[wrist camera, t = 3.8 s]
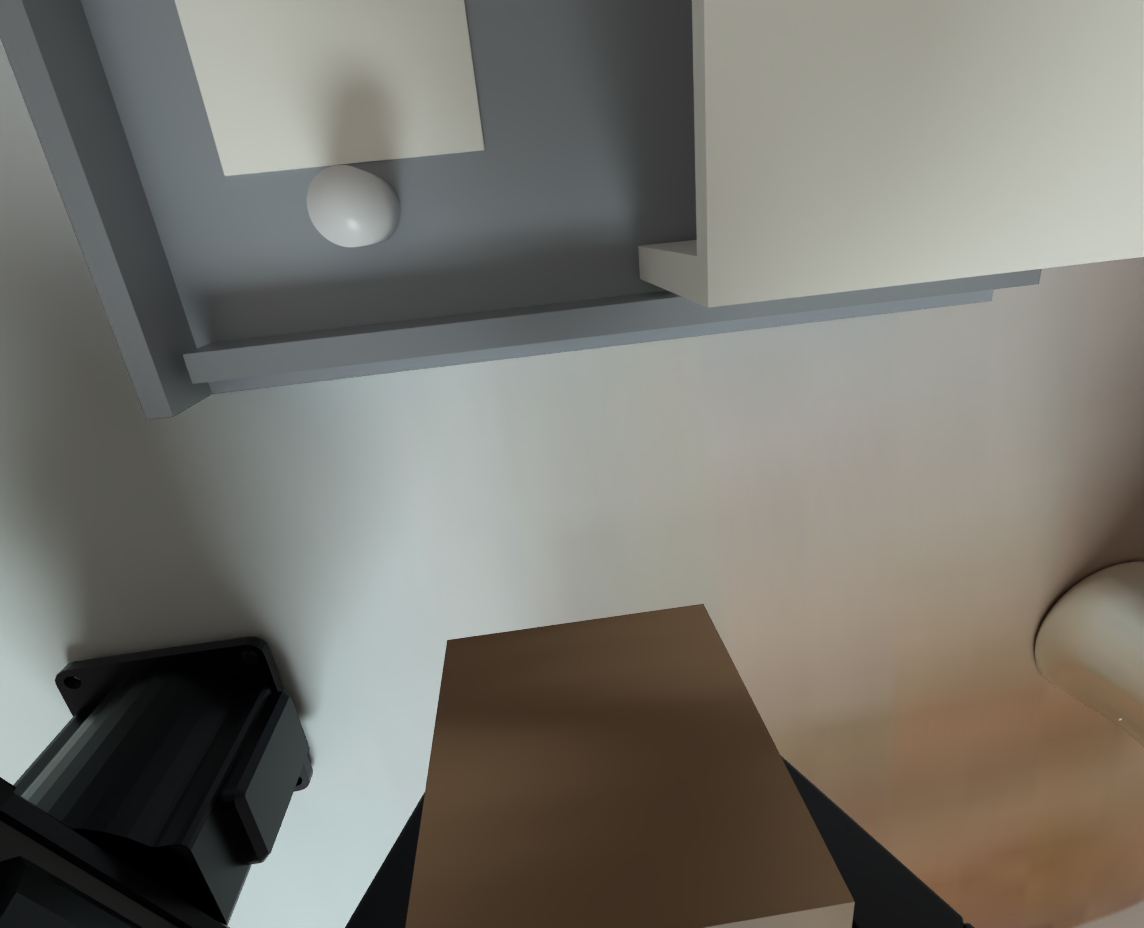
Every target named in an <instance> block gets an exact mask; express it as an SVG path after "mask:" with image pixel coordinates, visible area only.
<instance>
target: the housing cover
mask: <svg viewBox="0 0 1144 928" xmlns="http://www.w3.org/2000/svg"><path fill="white" fill-rule="evenodd" d="M692 32H693V82H694V133H695V183H696V234H697V240H688V241H679V242H670V243H661V244H652V245H642V246H638V251H639V270H640V279H641V280H644V281H646V282H649V283H651V284H653V285H656V286H658V287H660V288H663V289H665V290H667V291H670V292H672V293H675V294H677V295H679V296H682V297H684V298H686V299H689V300H691V301H694V302H696V303H698V304H701V305H703V306H705V307H708V308H710V307H718V306H727V305H735V304H744V303H752V302H761V301H770V300H778V299H787V298H795V297H804V296H812V295H821V294H829V293H838V292H847V291H855V290H864V289H872V288H881V287H889V286H898V285H906V284H915V283H924V282H932V281H941V280H949V279H958V278H966V277H975V276H984V275H992V274H1001V273H1009V272H1018V271H1026V270H1035V269H1043V268H1052V267H1061V266H1069V265H1078V264H1086V263H1095V262H1103V261H1112V260H1121V259H1129V258H1138V257H1144V0H692Z"/></svg>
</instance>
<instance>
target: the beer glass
mask: <svg viewBox="0 0 1144 928" xmlns="http://www.w3.org/2000/svg"><path fill="white" fill-rule="evenodd" d="M1035 660H1036V664H1037V667H1038V669H1039V671H1040V673H1041V674H1042V675H1043V676H1044V678H1045V679H1046V680H1047V681H1048V682H1049V683H1050V684H1052V685H1053V686H1054V687H1056V688H1057V689H1059V690H1060V691H1062V692H1064V693H1065V694H1067V695H1068V696H1070V697H1072V698H1074V699H1075V700H1077V701H1079V702H1080V703H1082V704H1084V705H1085V706H1087V707H1089V708H1091V709H1092V710H1094V711H1095V712H1097V713H1099V714H1100V715H1102V716H1104V717H1105V718H1107V719H1108V720H1110V721H1111V722H1113V723H1114V724H1116V725H1117V726H1119V727H1120V728H1121V729H1122V730H1124V731H1125V732H1126V733H1128V734H1129V735H1130V736H1131V737H1133V738H1134V739H1135V740H1136V741H1138V742H1139V743H1140V744H1141V745H1142V746H1143V747H1144V561H1136V562H1127V563H1122V564H1117V565H1114V566H1111V567H1108V568H1105V569H1102V570H1100V571H1098V572H1096V573H1094V574H1092V575H1090V576H1088V577H1086V578H1085V579H1083V580H1082V581H1080V582H1079V583H1077V584H1076V585H1074V586H1073V587H1072V588H1071V589H1069V590H1068V591H1067V592H1066V593H1065V594H1064V595H1063V596H1062V597H1061V598H1060V599H1059V600H1058V601H1057V602H1056V603H1055V604H1054V606H1053V607H1052V608H1051V609H1050V611H1049V612H1048V614H1047V615H1046V617H1045V619H1044V620H1043V622H1042V624H1041V626H1040V629H1039V631H1038V634H1037V638H1036V643H1035Z"/></svg>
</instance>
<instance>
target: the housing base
mask: <svg viewBox="0 0 1144 928" xmlns="http://www.w3.org/2000/svg"><path fill="white" fill-rule="evenodd" d="M0 38H1V41H2V43H3V46H4V49H5V51H6V54H7V57H8V59H9V62H10V64H11V67H12V70H13V72H14V75H15V77H16V80H17V83H18V85H19V88H20V91H21V93H22V96H23V98H24V101H25V104H26V106H27V109H28V111H29V114H30V117H31V119H32V122H33V125H34V127H35V130H36V132H37V135H38V138H39V140H40V143H41V145H42V148H43V151H44V153H45V156H46V159H47V161H48V164H49V166H50V169H51V172H52V174H53V177H54V179H55V182H56V185H57V187H58V190H59V193H60V195H61V198H62V200H63V203H64V206H65V208H66V211H67V213H68V216H69V219H70V221H71V224H72V227H73V229H74V232H75V234H76V237H77V240H78V242H79V245H80V247H81V250H82V253H83V255H84V258H85V261H86V263H87V266H88V268H89V271H90V274H91V276H92V279H93V281H94V284H95V287H96V289H97V292H98V295H99V297H100V300H101V302H102V305H103V308H104V310H105V313H106V315H107V318H108V321H109V323H110V326H111V329H112V331H113V334H114V336H115V339H116V342H117V344H118V347H119V349H120V352H121V355H122V357H123V360H124V363H125V365H126V368H127V370H128V373H129V376H130V378H131V381H132V383H133V386H134V389H135V391H136V394H137V397H138V399H139V402H140V404H141V407H142V410H143V412H144V415H145V417H146V420H149V419H158V418H166V417H173V416H175V415H177V414H179V413H180V412H182V411H184V410H185V409H187V408H189V407H191V406H192V405H194V404H196V403H197V402H199V401H201V400H203V399H204V398H206V397H208V396H209V395H211V394H216V393H225V392H233V391H241V390H250V389H258V388H266V387H275V386H283V385H292V384H300V383H308V382H317V381H325V380H334V379H342V378H350V377H359V376H367V375H375V374H384V373H392V372H401V371H409V370H417V369H426V368H434V367H442V366H451V365H459V364H468V363H476V362H484V361H493V360H501V359H510V358H518V357H526V356H535V355H543V354H551V353H560V352H568V351H577V350H585V349H593V348H602V347H610V346H618V345H627V344H635V343H644V342H652V341H660V340H669V339H677V338H685V337H694V336H702V335H711V334H719V333H727V332H736V331H744V330H753V329H761V328H769V327H778V326H786V325H794V324H803V323H811V322H820V321H828V320H836V319H845V318H853V317H861V316H870V315H878V314H887V313H895V312H903V311H912V310H920V309H928V308H937V307H945V306H954V305H962V304H970V303H979V302H987V301H992V295H993V289H1000V288H1008V287H1017V286H1025V285H1034V284H1039V281H1040V276H1041V270H1042V269H1035V270H1026V271H1018V272H1009V273H1001V274H992V275H984V276H975V277H966V278H958V279H949V280H941V281H932V282H924V283H915V284H906V285H898V286H889V287H881V288H872V289H864V290H855V291H847V292H838V293H829V294H821V295H812V296H804V297H795V298H787V299H778V300H770V301H761V302H752V303H744V304H735V305H727V306H718V307H710V308H708V307H705V306H703V305H701V304H698V303H696V302H694V301H691V300H689V299H686V298H684V297H682V296H679V295H677V294H675V293H672V292H670V291H667V290H665V289H663V288H660V287H658V286H656V285H653V284H651V283H649V282H646V281H644V280H641V279H640V270H639V251H638V246H642V245H652V244H661V243H670V242H679V241H688V240H697V234H696V183H695V133H694V82H693V32H692V0H0Z"/></svg>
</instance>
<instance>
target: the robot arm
mask: <svg viewBox="0 0 1144 928" xmlns="http://www.w3.org/2000/svg"><path fill="white" fill-rule="evenodd" d="M246 651H252V652H254V653H255V654H256V656H254V655H250V654H248V653H247V652H246ZM75 677H76V678H78V679H79V680H78V679H76V678H75ZM55 682H56V685H57V687H58V689H59V691H60V693H61V695H62V696H63V698H64V700H65V702H66V704H67V706H68V708H69V710H70V711H71V713H72V715H73V718H72V719H71V720H70V721H69V722H68V723H67V725H66V726H65V727H64V728H63V729H62V730H61V731H60V733H59V734H58V735H57V736H56V737H55V738H54V739H53V741H52V742H51V743H50V744H49V745H48V746H47V747H46V749H45V750H44V751H43V752H42V753H41V754H40V755H39V757H38V758H37V759H36V760H35V761H34V762H33V763H32V765H31V766H30V767H29V768H28V769H27V770H26V771H25V773H24V774H23V775H22V776H21V777H20V778H19V779H18V780H17V782H16V783H15V784H14V785H12V784H10V783H9V782H7V781H5V780H4V779H2V778H1V777H0V928H230V927H228V926H227V925H228V923H229V920H230V918H231V915H232V913H233V910H234V907H235V905H236V902H237V900H238V897H239V895H240V892H241V890H242V887H243V885H244V882H245V880H246V877H247V875H248V872H249V870H250V867H251V865H252V864H256V863H262V862H264V860H265V859H266V858H267V857H268V855H269V854H270V853H271V850H272V848H273V845H274V842H275V840H276V837H277V834H278V832H279V829H280V826H281V824H282V821H283V818H284V816H285V813H286V810H287V808H288V805H289V802H290V800H291V797H292V794H293V792H294V791H299V790H303V789H305V788H306V787H307V786H308V785H309V783H310V780H311V777H312V774H313V769H312V766H311V763H310V761H309V758H308V755H307V754H308V752H309V746H308V743H307V740H306V737H305V734H304V731H303V728H302V726H301V723H300V720H299V717H298V714H297V711H296V709H295V706H294V703H293V700H292V697H291V696H290V695H289V694H288V693H287V692H286V691H285V690H284V687H283V685H282V682H281V679H280V676H279V673H278V670H277V668H276V665H275V662H274V659H273V656H272V654H271V651H270V648H269V646H268V644H267V643H266V642H265V641H264V640H262V639H260V638H257V637H245V638H238V639H231V640H224V641H217V642H210V643H203V644H196V645H189V646H182V647H175V648H168V649H160V650H153V651H146V652H139V653H132V654H125V655H118V656H111V657H104V658H97V659H90V660H83V661H76V662H72V663H69V664H68V665H67V666H65V667H64V668H63V669H62V670H61V671H60V672H59V673H58V674H57V675H56V679H55ZM780 756H781V755H780ZM781 758H782V760H783V762H784V764H785V766H786V768H787V770H788V772H789V773H790V775H791V777H792V779H793V781H794V783H795V785H796V787H797V789H798V791H799V793H800V795H801V797H802V799H803V801H804V803H805V805H806V807H807V809H808V811H809V813H810V815H811V817H812V819H813V821H814V823H815V825H816V827H817V829H818V831H819V832H820V834H821V836H822V838H823V840H824V842H825V844H826V846H827V848H828V850H829V852H830V854H831V856H832V858H833V860H834V862H835V864H836V866H837V868H838V870H839V872H840V874H841V876H842V878H843V880H844V882H845V884H846V886H847V888H848V890H849V891H850V893H851V895H852V897H853V899H854V901H855V904H854V912H853V921H852V928H974V927H973V926H972V925H971V924H970V923H965V924H964V920H963V918H962V916H960V915H959V914H958V913H957V912H956V911H955V910H954V909H953V908H952V907H950V906H949V905H948V904H947V903H946V902H945V901H944V900H943V899H941V898H940V897H939V896H938V895H937V894H936V893H935V892H934V891H932V890H931V889H930V888H929V887H928V886H927V885H926V884H925V883H923V882H922V881H921V880H920V879H919V878H918V877H917V876H916V875H914V874H913V873H912V872H911V871H910V870H909V869H908V868H907V867H905V866H904V865H903V864H902V863H901V862H900V861H899V860H898V859H897V858H895V857H894V856H893V855H892V854H891V853H890V852H889V851H888V850H886V849H885V848H884V847H883V846H882V845H881V844H880V843H879V842H877V841H876V840H875V839H874V838H873V837H872V836H871V835H870V834H868V833H867V832H866V831H865V830H864V829H863V828H862V827H861V826H859V825H858V824H857V823H856V822H855V821H854V820H853V819H852V818H851V817H849V816H848V815H847V814H846V813H845V812H844V811H843V810H842V809H840V808H839V807H838V806H837V805H836V804H835V803H834V802H833V801H831V800H830V799H829V798H828V797H827V796H826V795H825V794H824V793H822V792H821V791H820V790H819V789H818V788H817V787H816V786H815V785H813V784H812V783H811V782H810V781H809V780H808V779H807V778H806V777H804V776H803V775H802V774H801V773H800V772H799V771H798V770H797V769H796V768H794V767H793V766H792V765H791V764H790V763H789V762H788V761H787V760H785V759H784V758H783V757H782V756H781ZM424 797H425V793H424V794H423V796H422V798H421V799H420V801H419V803H418V804H417V806H416V808H415V810H414V811H413V813H412V815H411V816H410V818H409V820H408V821H407V823H406V825H405V827H404V828H403V830H402V832H401V833H400V835H399V837H398V838H397V840H396V842H395V844H394V845H393V847H392V849H391V850H390V852H389V854H388V855H387V857H386V859H385V861H384V862H383V864H382V866H381V867H380V869H379V871H378V872H377V874H376V876H375V878H374V879H373V881H372V883H371V884H370V886H369V888H368V889H367V891H366V893H365V895H364V896H363V898H362V900H361V901H360V903H359V905H358V906H357V908H356V910H355V912H354V913H353V915H352V917H351V918H350V920H349V922H348V923H347V925H346V927H345V928H405V926H406V920H407V913H408V906H409V899H410V892H411V885H412V879H413V872H414V865H415V858H416V851H417V844H418V838H419V831H420V824H421V817H422V810H423V803H424Z"/></svg>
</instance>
